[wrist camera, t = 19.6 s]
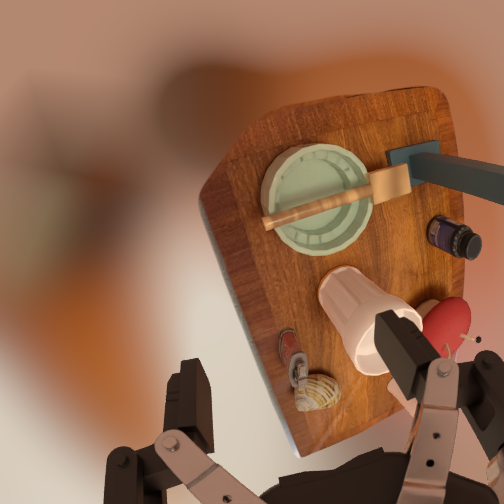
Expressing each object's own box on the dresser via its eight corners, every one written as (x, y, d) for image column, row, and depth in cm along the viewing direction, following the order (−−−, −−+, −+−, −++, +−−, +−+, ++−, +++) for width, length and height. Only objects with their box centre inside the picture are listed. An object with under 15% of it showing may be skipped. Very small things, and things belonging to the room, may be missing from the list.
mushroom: (395, 353, 63) (429, 395, 49) (393, 299, 57) (437, 339, 43) (445, 325, 63) (483, 358, 49) (449, 271, 57) (495, 301, 44)
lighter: (296, 359, 57) (312, 394, 48) (279, 363, 57) (293, 399, 48) (295, 326, 54) (313, 360, 45) (277, 329, 54) (292, 365, 45)
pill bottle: (430, 250, 54) (467, 271, 44) (421, 226, 52) (460, 245, 42) (449, 232, 54) (486, 250, 44) (441, 208, 52) (481, 224, 42)
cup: (334, 248, 50) (390, 296, 34) (378, 273, 54) (435, 321, 38) (299, 303, 53) (337, 367, 37) (345, 323, 56) (389, 381, 40)
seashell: (342, 392, 63) (337, 427, 54) (300, 389, 66) (291, 423, 57) (345, 361, 58) (340, 399, 50) (298, 359, 62) (288, 395, 53)
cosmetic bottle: (407, 369, 66) (455, 427, 46) (405, 384, 68) (448, 441, 48) (387, 378, 65) (433, 441, 45) (385, 393, 68) (427, 454, 47)
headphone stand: (385, 151, 46) (556, 187, 16) (434, 139, 47) (586, 168, 17) (392, 190, 49) (550, 255, 19) (439, 176, 49) (583, 223, 20)
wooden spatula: (266, 238, 41) (269, 242, 40) (257, 206, 40) (260, 209, 38) (406, 191, 43) (413, 193, 41) (402, 162, 41) (409, 164, 39)
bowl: (247, 159, 43) (254, 161, 38) (343, 133, 44) (361, 133, 38) (275, 255, 49) (285, 270, 43) (361, 225, 50) (379, 236, 44)
